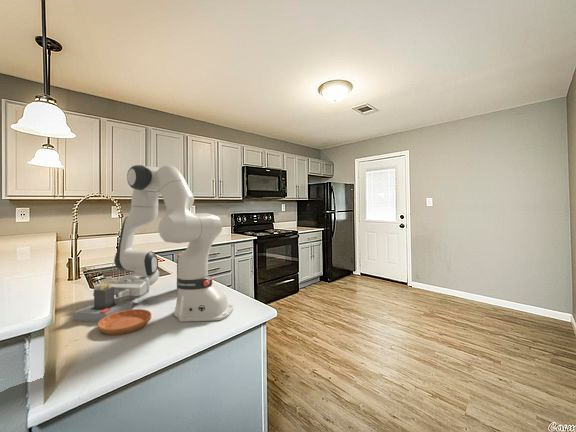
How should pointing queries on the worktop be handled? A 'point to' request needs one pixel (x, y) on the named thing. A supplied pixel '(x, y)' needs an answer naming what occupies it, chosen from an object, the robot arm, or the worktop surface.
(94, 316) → the socket
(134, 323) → the saucer
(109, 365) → the worktop surface
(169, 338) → the worktop surface
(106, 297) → the plug
